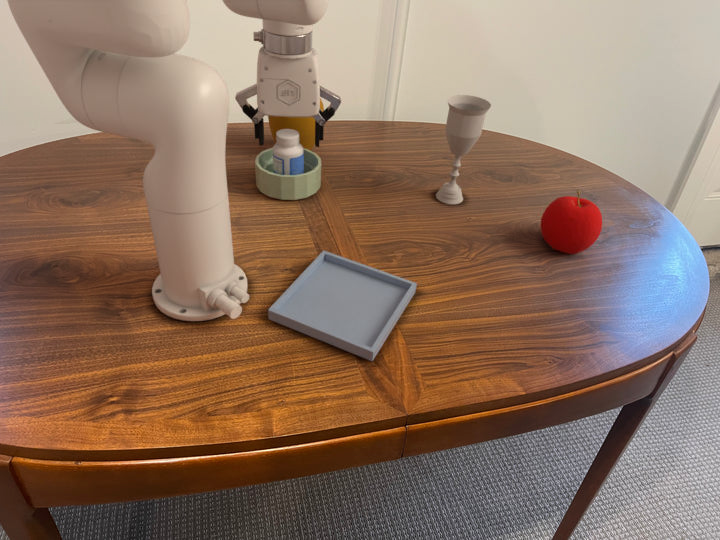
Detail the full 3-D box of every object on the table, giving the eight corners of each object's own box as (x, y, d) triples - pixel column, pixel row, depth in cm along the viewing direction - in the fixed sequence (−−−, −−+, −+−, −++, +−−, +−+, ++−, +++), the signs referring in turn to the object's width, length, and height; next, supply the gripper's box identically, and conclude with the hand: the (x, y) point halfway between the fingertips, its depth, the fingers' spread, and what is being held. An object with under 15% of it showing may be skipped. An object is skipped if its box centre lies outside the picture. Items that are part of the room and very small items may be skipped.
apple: (332, 150, 111) (335, 88, 103) (301, 169, 103) (301, 104, 95) (290, 135, 115) (290, 74, 107) (257, 152, 108) (254, 88, 100)
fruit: (589, 236, 92) (610, 186, 86) (592, 267, 85) (616, 214, 79) (535, 225, 94) (552, 174, 88) (534, 254, 87) (552, 201, 81)
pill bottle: (304, 176, 100) (305, 127, 94) (303, 191, 96) (303, 141, 90) (275, 175, 100) (273, 126, 94) (272, 190, 96) (270, 139, 90)
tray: (415, 292, 77) (417, 283, 76) (372, 361, 66) (373, 352, 65) (323, 259, 82) (323, 250, 81) (268, 319, 71) (267, 309, 70)
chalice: (438, 208, 96) (457, 111, 85) (424, 189, 101) (440, 95, 90) (475, 205, 98) (498, 110, 87) (460, 186, 103) (480, 94, 92)
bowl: (333, 186, 99) (334, 162, 96) (287, 209, 92) (287, 183, 89) (289, 164, 105) (289, 140, 102) (243, 184, 97) (241, 159, 94)
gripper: (228, 46, 79) (237, 151, 90) (345, 51, 81) (339, 154, 92) (233, 31, 85) (241, 131, 96) (342, 36, 87) (337, 134, 97)
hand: (289, 142), depth 94 cm, fingers open, 9 cm apart
